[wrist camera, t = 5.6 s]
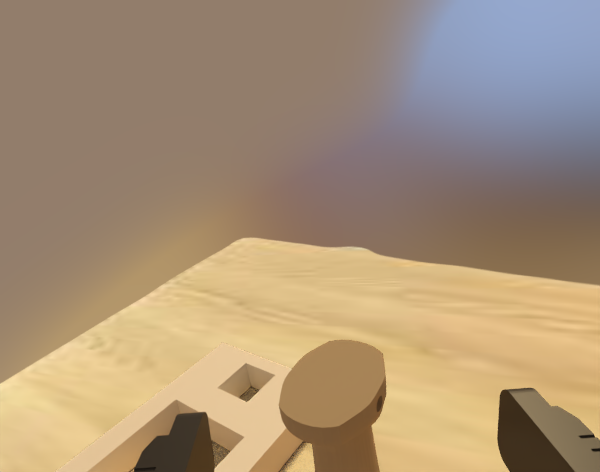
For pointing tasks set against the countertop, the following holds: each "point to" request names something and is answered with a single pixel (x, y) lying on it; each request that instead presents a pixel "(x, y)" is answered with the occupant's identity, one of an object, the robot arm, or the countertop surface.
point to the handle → (336, 404)
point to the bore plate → (220, 410)
